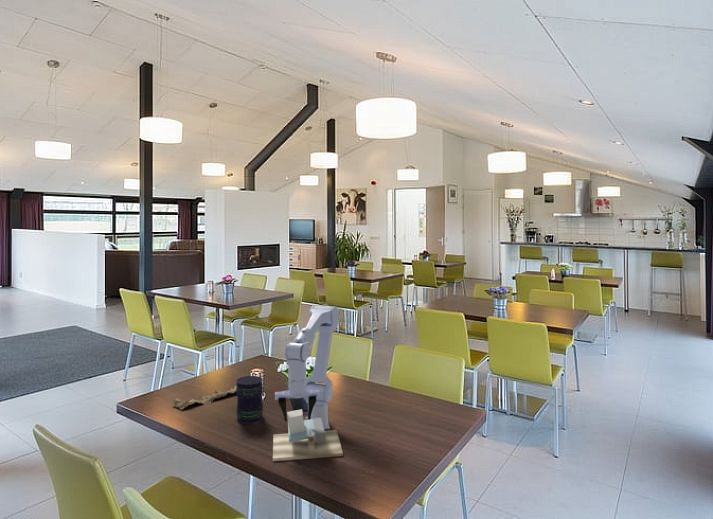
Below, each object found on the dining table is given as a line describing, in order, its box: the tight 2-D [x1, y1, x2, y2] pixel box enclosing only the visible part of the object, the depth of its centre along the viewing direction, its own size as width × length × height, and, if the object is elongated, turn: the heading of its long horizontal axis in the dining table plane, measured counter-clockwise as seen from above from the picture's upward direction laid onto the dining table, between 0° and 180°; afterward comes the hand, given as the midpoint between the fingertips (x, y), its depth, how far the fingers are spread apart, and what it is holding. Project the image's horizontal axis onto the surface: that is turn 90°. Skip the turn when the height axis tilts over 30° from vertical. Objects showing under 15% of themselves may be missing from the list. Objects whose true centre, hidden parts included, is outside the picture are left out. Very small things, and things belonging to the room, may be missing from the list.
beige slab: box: [272, 416, 344, 462], centre depth 155 cm, size 17×22×7 cm
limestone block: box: [286, 408, 305, 434], centre depth 154 cm, size 5×5×6 cm
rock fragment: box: [171, 385, 237, 410], centre depth 200 cm, size 34×10×3 cm, turn 139°
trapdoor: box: [287, 417, 326, 443], centre depth 155 cm, size 12×12×3 cm
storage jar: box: [235, 375, 264, 425], centre depth 177 cm, size 10×10×15 cm
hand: (297, 419), depth 154 cm, fingers open, 7 cm apart
